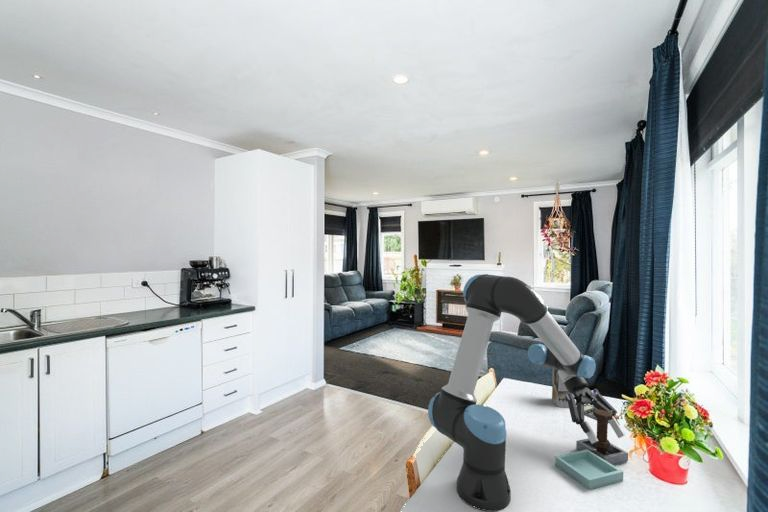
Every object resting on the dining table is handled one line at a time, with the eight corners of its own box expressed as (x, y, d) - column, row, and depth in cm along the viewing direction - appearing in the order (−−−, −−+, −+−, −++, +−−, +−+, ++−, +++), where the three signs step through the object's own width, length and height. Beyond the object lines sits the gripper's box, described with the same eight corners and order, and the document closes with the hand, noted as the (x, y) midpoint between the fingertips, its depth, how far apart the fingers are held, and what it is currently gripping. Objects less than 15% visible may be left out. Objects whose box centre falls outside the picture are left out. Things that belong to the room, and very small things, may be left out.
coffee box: (572, 408, 164) (573, 372, 163) (557, 406, 165) (558, 371, 164) (565, 399, 173) (566, 366, 172) (551, 398, 174) (552, 365, 174)
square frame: (605, 467, 119) (605, 458, 119) (576, 449, 130) (576, 440, 130) (627, 461, 122) (628, 452, 122) (597, 444, 133) (598, 436, 133)
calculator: (606, 422, 149) (571, 408, 162) (606, 425, 149) (571, 410, 162) (621, 416, 155) (586, 403, 168) (621, 418, 155) (586, 405, 168)
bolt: (612, 461, 123) (614, 417, 122) (596, 459, 124) (597, 415, 123) (606, 451, 128) (607, 409, 128) (590, 449, 129) (591, 408, 129)
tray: (589, 489, 108) (589, 480, 108) (554, 464, 120) (555, 456, 120) (623, 480, 112) (623, 471, 112) (587, 457, 124) (587, 449, 124)
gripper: (590, 380, 144) (626, 437, 130) (542, 386, 136) (575, 448, 122) (602, 371, 139) (641, 430, 125) (553, 377, 131) (589, 441, 117)
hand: (608, 439), depth 123 cm, fingers open, 12 cm apart
